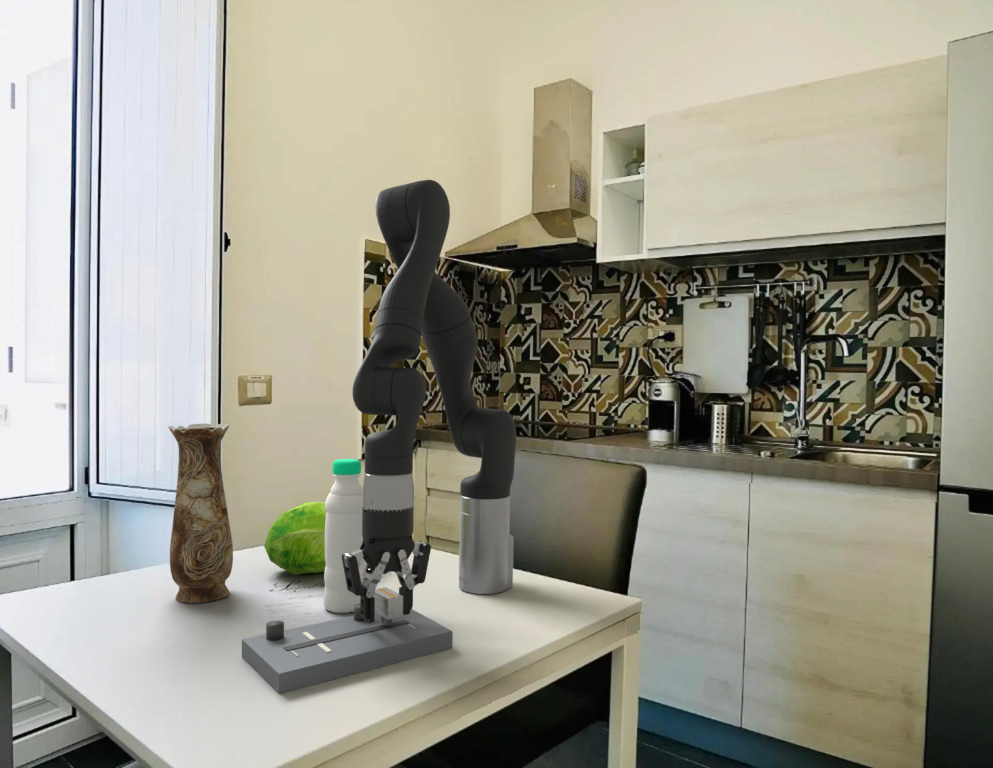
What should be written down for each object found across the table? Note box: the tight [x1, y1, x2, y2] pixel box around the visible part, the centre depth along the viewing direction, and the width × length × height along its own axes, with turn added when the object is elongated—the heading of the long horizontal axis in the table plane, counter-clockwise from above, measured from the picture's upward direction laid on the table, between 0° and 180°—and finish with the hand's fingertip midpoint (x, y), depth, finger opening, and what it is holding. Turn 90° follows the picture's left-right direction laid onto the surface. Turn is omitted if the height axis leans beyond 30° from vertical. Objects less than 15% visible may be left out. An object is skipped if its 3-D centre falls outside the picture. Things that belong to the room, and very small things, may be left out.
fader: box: [373, 586, 403, 626], centre depth 109 cm, size 2×5×5 cm, turn 37°
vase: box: [167, 423, 234, 604], centre depth 129 cm, size 10×11×30 cm
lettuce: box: [263, 500, 326, 575], centre depth 146 cm, size 15×20×14 cm
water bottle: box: [323, 458, 366, 614], centre depth 125 cm, size 7×7×25 cm
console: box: [241, 604, 454, 694], centre depth 106 cm, size 26×14×4 cm, turn 127°
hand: (386, 616), depth 109 cm, fingers open, 5 cm apart
